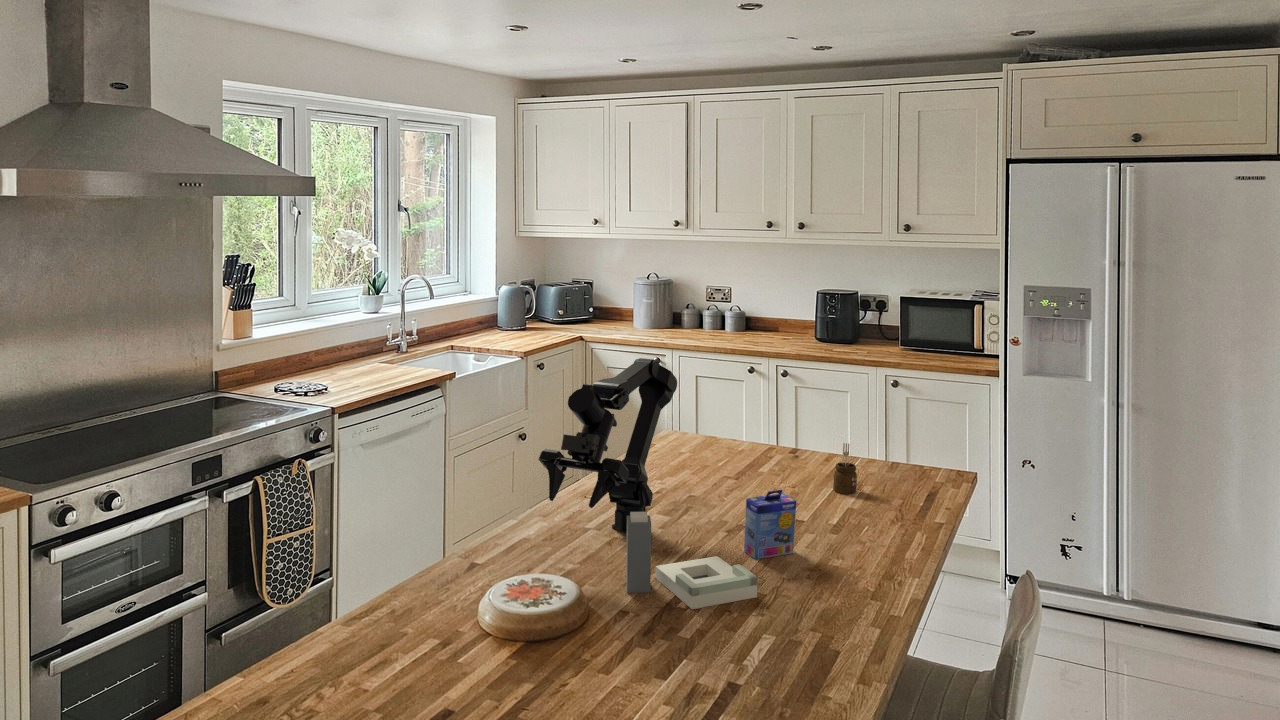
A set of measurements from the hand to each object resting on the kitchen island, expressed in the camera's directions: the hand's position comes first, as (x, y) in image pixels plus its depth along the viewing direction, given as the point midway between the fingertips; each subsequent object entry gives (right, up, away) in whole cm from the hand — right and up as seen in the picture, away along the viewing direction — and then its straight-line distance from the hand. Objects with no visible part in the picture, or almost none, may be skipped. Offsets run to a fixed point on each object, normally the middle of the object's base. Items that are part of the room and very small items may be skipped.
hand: (570, 503), depth 196 cm
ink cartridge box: (+42, -13, +13) cm, 46 cm away
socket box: (+27, -16, -6) cm, 32 cm away
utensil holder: (+67, -5, +57) cm, 88 cm away
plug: (+14, -16, -6) cm, 22 cm away
